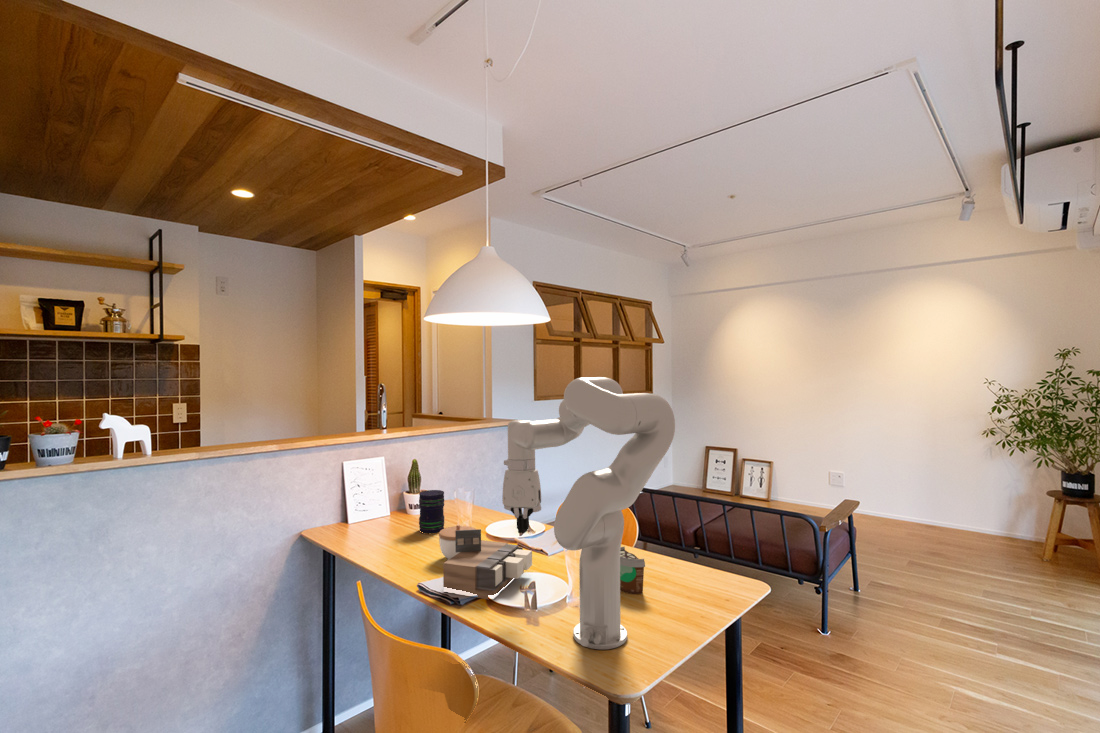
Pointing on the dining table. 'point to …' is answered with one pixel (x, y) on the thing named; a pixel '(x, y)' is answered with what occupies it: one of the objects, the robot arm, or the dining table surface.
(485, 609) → the dining table surface
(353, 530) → the dining table surface
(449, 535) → the lidded bowl
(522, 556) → the button
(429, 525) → the storage jar
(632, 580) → the food container
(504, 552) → the console
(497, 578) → the button
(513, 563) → the button mid
